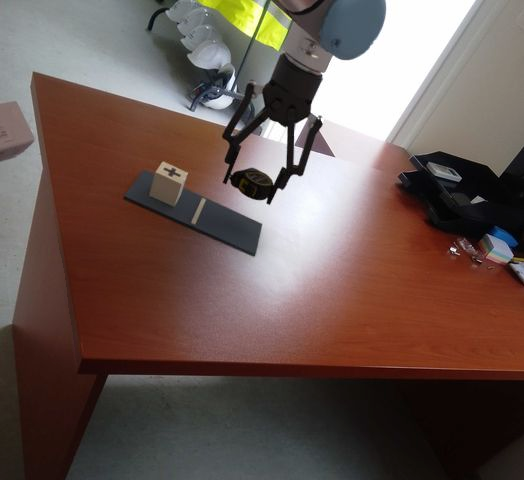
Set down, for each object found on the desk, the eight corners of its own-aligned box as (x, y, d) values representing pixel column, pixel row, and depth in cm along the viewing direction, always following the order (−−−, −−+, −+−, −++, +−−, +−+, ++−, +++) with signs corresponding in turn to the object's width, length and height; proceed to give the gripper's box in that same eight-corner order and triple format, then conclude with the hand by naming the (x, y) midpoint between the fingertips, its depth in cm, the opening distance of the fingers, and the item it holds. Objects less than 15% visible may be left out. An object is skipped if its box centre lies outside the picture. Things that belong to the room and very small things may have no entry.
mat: (123, 198, 82) (124, 195, 82) (143, 171, 91) (143, 168, 90) (254, 256, 88) (255, 253, 87) (261, 226, 96) (262, 223, 96)
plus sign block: (148, 195, 85) (155, 171, 82) (156, 184, 89) (163, 160, 85) (174, 207, 86) (181, 183, 83) (180, 195, 90) (188, 172, 86)
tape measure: (247, 180, 88) (254, 162, 86) (273, 201, 87) (281, 184, 85) (225, 185, 83) (233, 167, 81) (253, 208, 82) (261, 190, 80)
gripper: (237, 33, 65) (190, 174, 80) (363, 102, 69) (296, 224, 85) (244, 24, 70) (199, 158, 86) (361, 89, 75) (298, 205, 90)
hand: (247, 190), depth 85 cm, fingers closed on tape measure, 8 cm apart
